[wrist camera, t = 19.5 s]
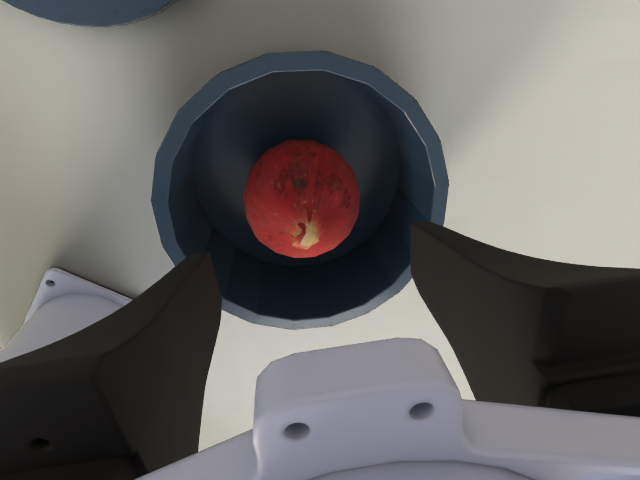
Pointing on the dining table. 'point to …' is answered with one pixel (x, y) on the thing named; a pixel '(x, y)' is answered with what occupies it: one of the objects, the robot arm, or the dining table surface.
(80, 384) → the robot arm
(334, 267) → the pot
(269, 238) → the red round fruit
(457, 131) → the dining table surface
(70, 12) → the pot lid
